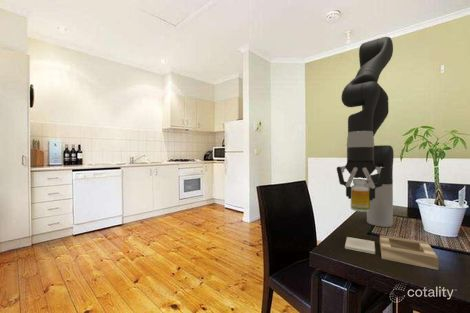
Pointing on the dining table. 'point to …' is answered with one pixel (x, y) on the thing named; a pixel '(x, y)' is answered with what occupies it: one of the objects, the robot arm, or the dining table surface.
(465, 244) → the dining table surface
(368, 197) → the supplement bottle
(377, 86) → the robot arm
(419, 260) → the oak holder
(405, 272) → the dining table surface
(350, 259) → the dining table surface
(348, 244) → the cream tile
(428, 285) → the dining table surface
